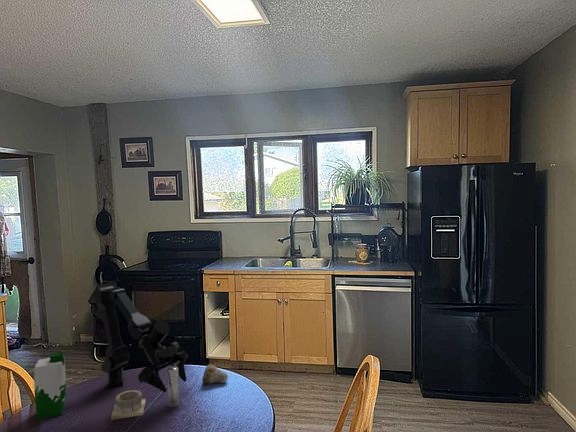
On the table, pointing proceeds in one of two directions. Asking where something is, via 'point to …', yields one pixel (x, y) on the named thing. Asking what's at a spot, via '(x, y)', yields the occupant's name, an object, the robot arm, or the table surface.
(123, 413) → the cup bracket
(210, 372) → the flower patterned bottle
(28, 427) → the table surface
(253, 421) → the table surface
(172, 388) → the grey glossy cylinder
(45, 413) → the milk carton
